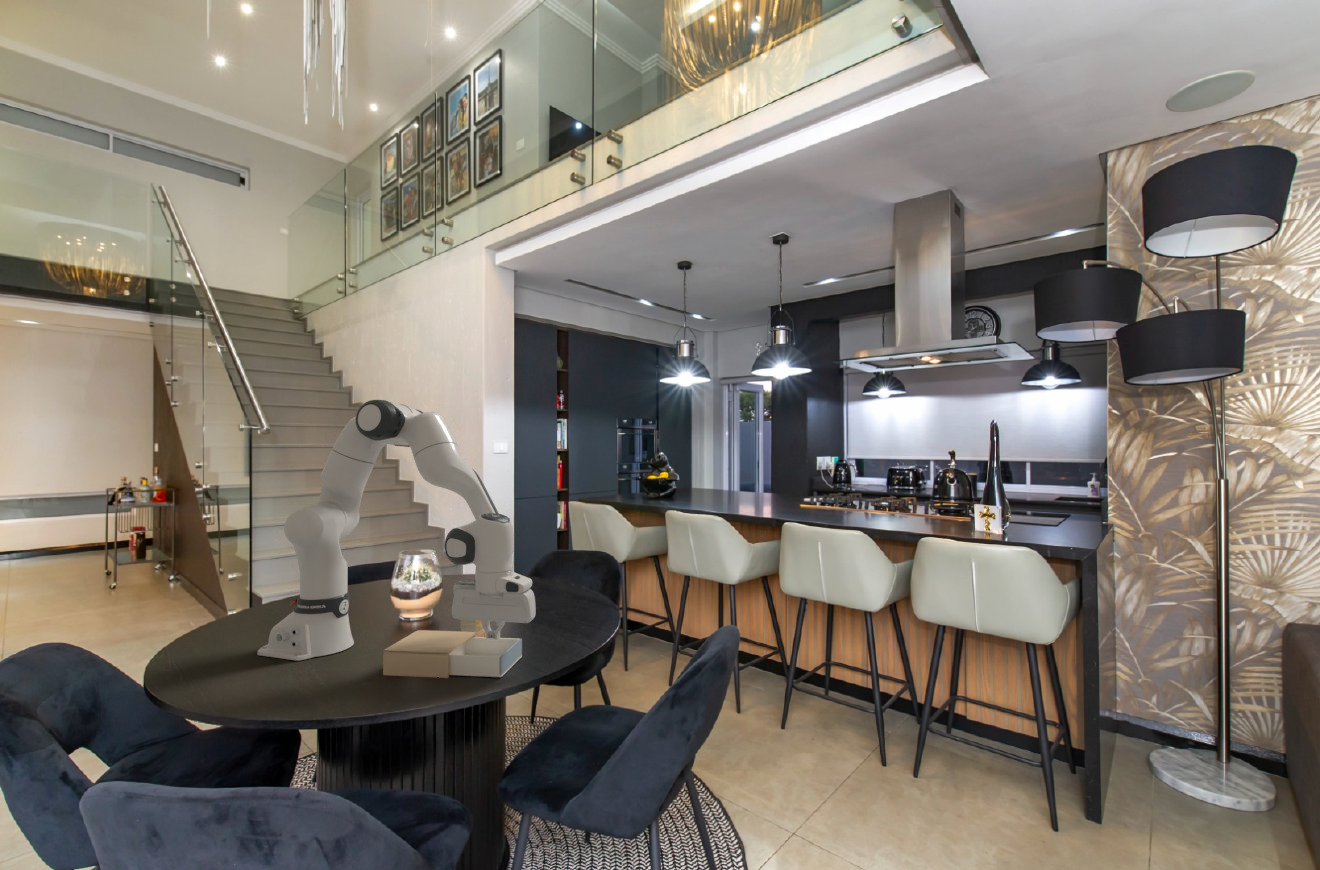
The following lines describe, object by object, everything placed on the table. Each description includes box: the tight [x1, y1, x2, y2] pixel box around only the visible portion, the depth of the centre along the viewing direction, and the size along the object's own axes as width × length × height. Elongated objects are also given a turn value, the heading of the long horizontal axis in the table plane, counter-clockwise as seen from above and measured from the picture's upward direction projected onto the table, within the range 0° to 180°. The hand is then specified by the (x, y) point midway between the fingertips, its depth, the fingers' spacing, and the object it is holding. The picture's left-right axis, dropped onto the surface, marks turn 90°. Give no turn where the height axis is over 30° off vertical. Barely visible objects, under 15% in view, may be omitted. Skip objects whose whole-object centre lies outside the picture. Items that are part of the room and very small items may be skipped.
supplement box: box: [460, 619, 491, 637], centre depth 158 cm, size 8×5×13 cm, turn 168°
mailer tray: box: [449, 637, 523, 678], centre depth 139 cm, size 15×13×4 cm
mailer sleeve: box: [382, 629, 476, 679], centre depth 140 cm, size 16×15×6 cm
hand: (493, 638), depth 138 cm, fingers closed
